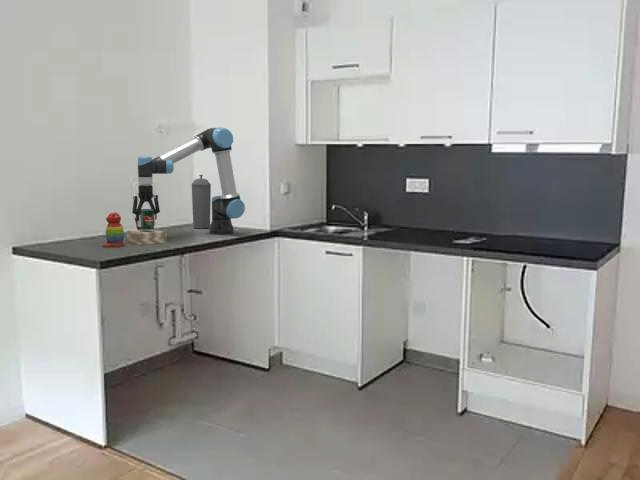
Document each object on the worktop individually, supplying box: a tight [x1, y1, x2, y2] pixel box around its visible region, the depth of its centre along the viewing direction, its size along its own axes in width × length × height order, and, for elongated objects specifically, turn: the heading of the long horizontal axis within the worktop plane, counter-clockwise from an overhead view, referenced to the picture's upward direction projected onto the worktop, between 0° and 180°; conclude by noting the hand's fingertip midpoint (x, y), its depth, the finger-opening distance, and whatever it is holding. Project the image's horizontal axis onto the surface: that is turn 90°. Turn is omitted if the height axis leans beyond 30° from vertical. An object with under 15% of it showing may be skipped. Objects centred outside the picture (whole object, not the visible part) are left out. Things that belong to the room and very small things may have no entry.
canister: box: [191, 174, 212, 230], centre depth 405 cm, size 13×13×35 cm
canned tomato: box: [139, 208, 155, 230], centre depth 342 cm, size 8×8×11 cm
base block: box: [126, 228, 168, 246], centre depth 343 cm, size 16×16×6 cm
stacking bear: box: [102, 212, 125, 248], centre depth 326 cm, size 11×10×18 cm
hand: (146, 226), depth 342 cm, fingers closed on canned tomato, 8 cm apart
